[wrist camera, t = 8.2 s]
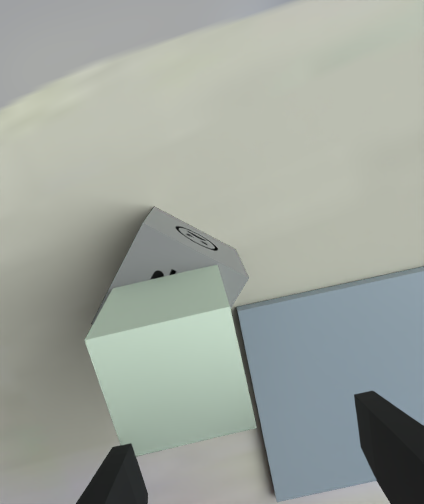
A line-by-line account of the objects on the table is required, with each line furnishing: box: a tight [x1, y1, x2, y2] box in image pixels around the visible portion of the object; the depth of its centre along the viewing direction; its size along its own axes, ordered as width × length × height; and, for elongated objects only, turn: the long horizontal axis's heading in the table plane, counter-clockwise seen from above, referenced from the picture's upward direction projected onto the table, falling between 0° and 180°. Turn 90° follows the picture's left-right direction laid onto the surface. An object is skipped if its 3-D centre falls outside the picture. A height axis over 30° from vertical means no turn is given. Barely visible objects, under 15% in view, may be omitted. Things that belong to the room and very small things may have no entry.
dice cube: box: [91, 206, 249, 325], centre depth 18 cm, size 5×5×5 cm
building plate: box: [237, 267, 424, 502], centre depth 23 cm, size 14×14×1 cm
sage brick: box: [85, 265, 257, 456], centre depth 14 cm, size 4×4×4 cm
